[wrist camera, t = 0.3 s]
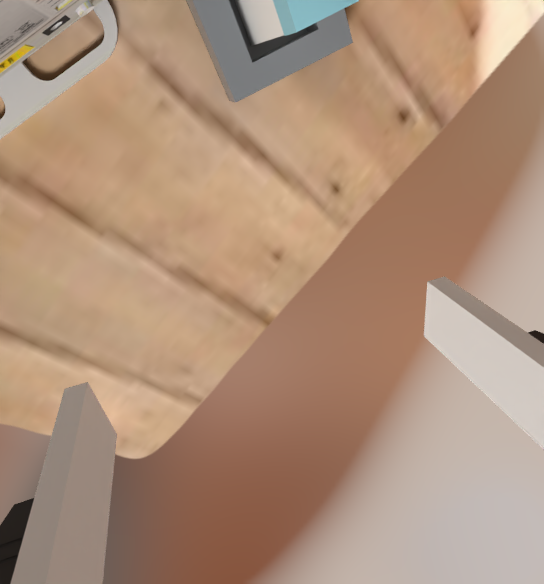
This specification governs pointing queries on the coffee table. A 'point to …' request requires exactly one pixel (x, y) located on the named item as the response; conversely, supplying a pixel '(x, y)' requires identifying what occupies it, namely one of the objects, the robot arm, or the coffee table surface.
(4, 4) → the network device
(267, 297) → the coffee table surface
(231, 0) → the jack panel
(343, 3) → the plug
